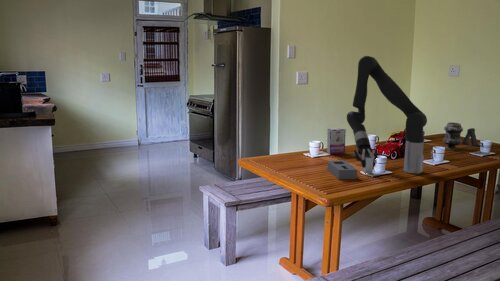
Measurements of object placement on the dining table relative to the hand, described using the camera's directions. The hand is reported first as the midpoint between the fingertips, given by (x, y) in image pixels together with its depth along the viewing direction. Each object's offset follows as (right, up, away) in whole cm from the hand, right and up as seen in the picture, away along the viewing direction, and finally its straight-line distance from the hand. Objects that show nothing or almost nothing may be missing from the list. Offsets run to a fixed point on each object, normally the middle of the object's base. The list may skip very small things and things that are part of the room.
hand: (369, 166), depth 229 cm
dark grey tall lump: (+76, +8, +64) cm, 100 cm away
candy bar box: (-8, +6, +51) cm, 52 cm away
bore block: (-15, -4, +1) cm, 15 cm away
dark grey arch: (+96, +11, +78) cm, 124 cm away
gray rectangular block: (0, -4, +3) cm, 5 cm away
